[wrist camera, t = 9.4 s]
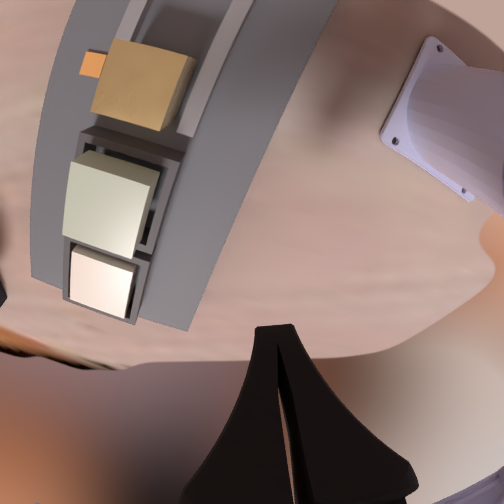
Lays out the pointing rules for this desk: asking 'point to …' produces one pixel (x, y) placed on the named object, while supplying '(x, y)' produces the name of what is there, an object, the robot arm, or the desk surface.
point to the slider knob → (142, 84)
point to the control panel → (171, 134)
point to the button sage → (108, 202)
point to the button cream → (101, 280)
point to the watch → (2, 295)
